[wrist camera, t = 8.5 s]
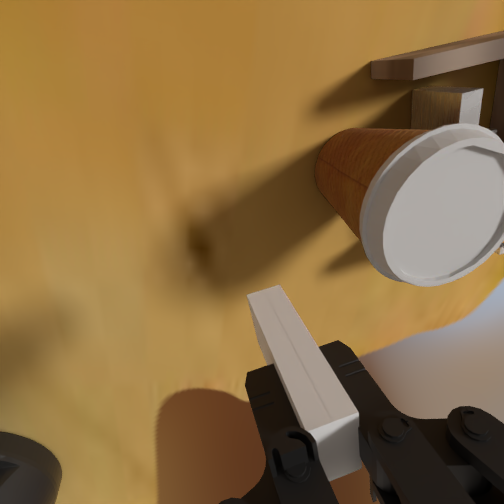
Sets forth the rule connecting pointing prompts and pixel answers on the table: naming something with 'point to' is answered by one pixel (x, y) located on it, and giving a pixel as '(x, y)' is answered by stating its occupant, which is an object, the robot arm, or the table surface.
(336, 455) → the robot arm
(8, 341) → the table surface
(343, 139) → the disposable coffee cup
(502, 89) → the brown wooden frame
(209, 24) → the table surface
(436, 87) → the gauge plunger
